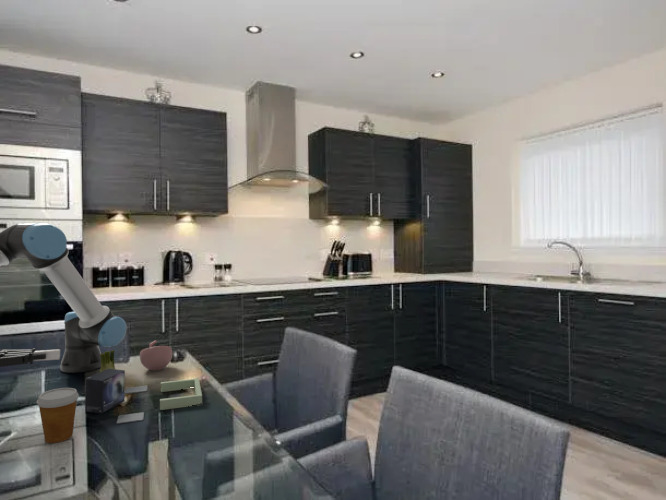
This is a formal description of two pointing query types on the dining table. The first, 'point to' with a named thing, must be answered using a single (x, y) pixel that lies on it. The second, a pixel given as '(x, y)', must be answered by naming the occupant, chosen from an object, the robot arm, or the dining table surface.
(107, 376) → the small box
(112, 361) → the fennel bulb
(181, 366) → the dining table surface
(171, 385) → the track
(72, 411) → the disposable coffee cup
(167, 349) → the mortar and pestle
